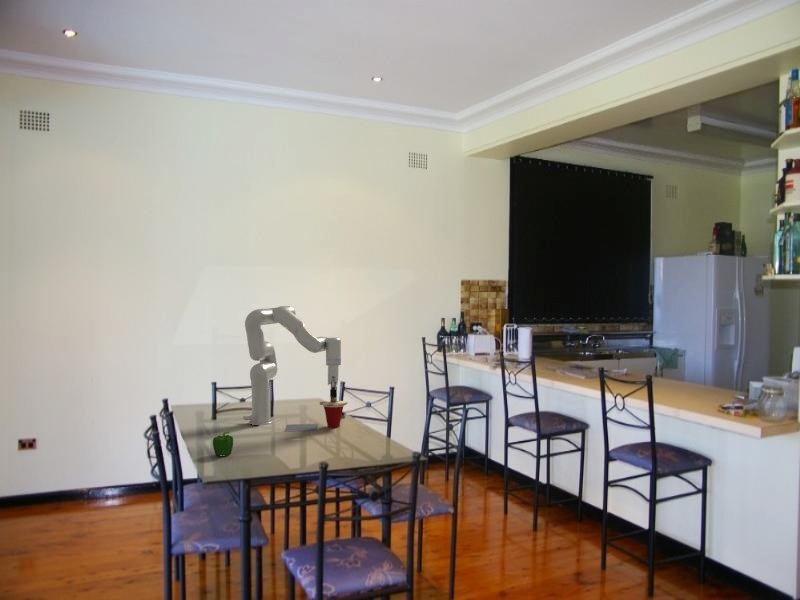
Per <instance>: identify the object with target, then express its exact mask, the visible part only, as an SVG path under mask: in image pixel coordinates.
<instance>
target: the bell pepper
mask: <svg viewBox="0 0 800 600" xmlns="http://www.w3.org/2000/svg"><path fill="white" fill-rule="evenodd" d="M229 434H230V430H229V431H228V430H226V431H224V432H222V435H217V436H215V437H213V439H212V447H213V450H214V454H215V455H216V454H218V455H227V454H228V455H230V454H231V453H232V452H233V451H232V450H233V447H234V437H233V436H232V435H229ZM229 453H230V454H229ZM218 455H217V456H218ZM228 455H227V456H228Z"/></svg>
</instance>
